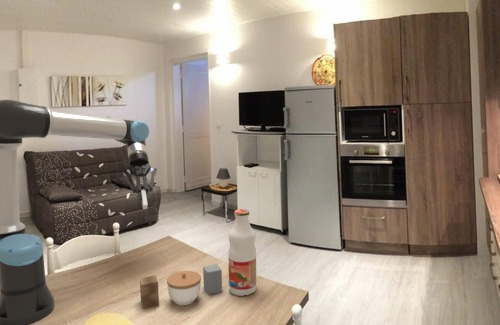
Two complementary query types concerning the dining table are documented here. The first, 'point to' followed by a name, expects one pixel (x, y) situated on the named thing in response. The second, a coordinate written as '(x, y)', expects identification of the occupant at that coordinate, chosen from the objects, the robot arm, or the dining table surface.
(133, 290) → the dining table surface
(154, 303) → the walnut block
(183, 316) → the dining table surface
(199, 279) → the lidded jar
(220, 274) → the grey block
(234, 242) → the fruit juice
